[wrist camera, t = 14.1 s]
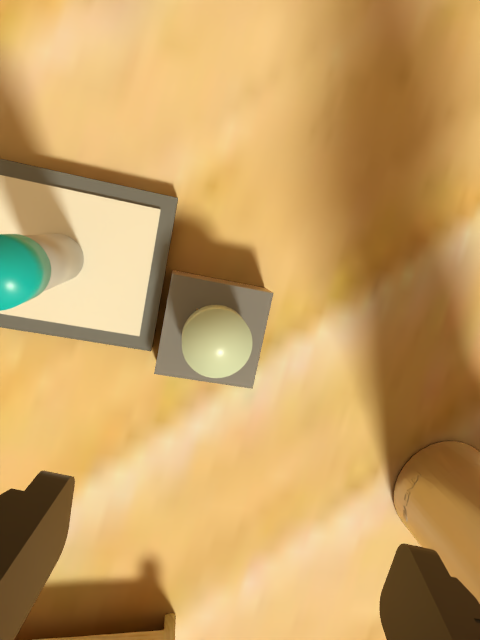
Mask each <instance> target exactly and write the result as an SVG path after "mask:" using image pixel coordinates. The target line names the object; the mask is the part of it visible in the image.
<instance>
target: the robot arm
mask: <svg viewBox="0 0 480 640" xmlns="http://www.w3.org/2000/svg"><path fill="white" fill-rule="evenodd" d="M74 484H75V480H74V477H72V476H67V475H62V474H57V473H52V472H47V471H41V472H40V473H39V474H38V475H37V476H36V477H35V479H34V480H33V481H32V482H31V483H30V485H29V486H28V487H27V488H26V490H25V491H21V490H16V489H10V490H8V491H6V492H4V493H3V494H1V495H0V640H14V639H15V637H16V636H17V634H18V632H19V630H20V628H21V627H22V625H23V623H24V621H25V619H26V618H27V616H28V614H29V612H30V610H31V608H32V607H33V605H34V603H35V601H36V599H37V598H38V596H39V594H40V592H41V590H42V588H43V587H44V585H45V583H46V581H47V579H48V578H49V576H50V574H51V572H52V570H53V568H54V567H55V565H56V563H57V561H58V559H59V557H60V555H61V553H62V550H63V547H64V545H65V541H66V538H67V534H68V529H69V521H70V514H71V507H72V499H73V492H74ZM394 505H395V508H396V512H397V514H398V516H399V517H400V519H401V521H402V522H403V523H404V525H405V526H406V527H407V529H408V530H409V531H410V532H411V534H412V535H413V536H414V538H415V539H416V540H417V541H418V543H419V544H420V545H421V547H418V546H413V545H408V544H401V545H400V546H399V547H398V549H397V551H396V554H395V557H394V559H393V562H392V565H391V568H390V570H389V573H388V576H387V578H386V581H385V584H384V587H383V589H382V592H381V597H380V618H381V623H382V626H383V629H384V632H385V636H386V639H387V640H480V452H479V451H478V450H477V449H475V448H474V447H472V446H471V445H468V444H466V443H463V442H457V441H444V442H439V443H436V444H432V445H430V446H428V447H426V448H424V449H422V450H421V451H419V452H418V453H417V454H415V455H414V456H413V457H412V458H411V459H410V460H409V461H408V462H407V463H406V464H405V466H404V467H403V469H402V470H401V472H400V474H399V476H398V478H397V481H396V484H395V489H394Z"/></svg>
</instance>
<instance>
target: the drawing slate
mask: <svg viewBox="0 0 480 640" xmlns="http://www.w3.org/2000/svg"><path fill="white" fill-rule="evenodd" d="M177 202H178V198H175V197H171V196H166V195H162V194H157V193H153V192H148V191H144V190H139V189H135V188H130V187H126V186H121V185H117V184H112V183H108V182H103V181H99V180H94V179H89V178H85V177H80V176H76V175H71V174H67V173H62V172H58V171H53V170H49V169H44V168H40V167H35V166H31V165H26V164H22V163H17V162H13V161H8V160H4V159H0V234H19V235H39V234H64V235H67V236H69V237H71V238H72V239H74V240H75V241H76V242H77V243H78V244H79V246H80V247H81V249H82V252H83V256H84V263H83V267H82V269H81V271H80V273H79V274H78V275H77V276H76V277H74V278H73V279H71V280H69V281H66V282H64V283H62V284H60V285H57V286H55V287H53V288H51V289H48V290H46V291H44V292H42V293H41V294H40V295H38V296H37V297H35V298H33V299H31V300H29V301H27V302H24V303H22V304H20V305H18V306H16V307H13V308H11V309H7V310H1V311H0V327H2V328H8V329H15V330H21V331H27V332H33V333H40V334H46V335H52V336H59V337H65V338H71V339H78V340H84V341H90V342H97V343H103V344H109V345H115V346H122V347H128V348H134V349H141V350H147V351H151V350H152V345H153V340H154V334H155V328H156V322H157V317H158V311H159V305H160V299H161V294H162V288H163V282H164V276H165V271H166V265H167V259H168V253H169V248H170V242H171V236H172V230H173V225H174V219H175V213H176V207H177Z"/></svg>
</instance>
